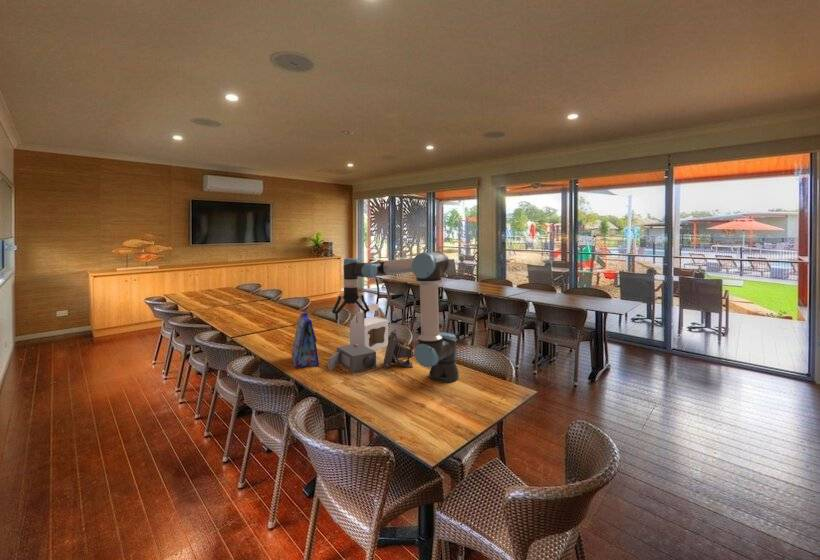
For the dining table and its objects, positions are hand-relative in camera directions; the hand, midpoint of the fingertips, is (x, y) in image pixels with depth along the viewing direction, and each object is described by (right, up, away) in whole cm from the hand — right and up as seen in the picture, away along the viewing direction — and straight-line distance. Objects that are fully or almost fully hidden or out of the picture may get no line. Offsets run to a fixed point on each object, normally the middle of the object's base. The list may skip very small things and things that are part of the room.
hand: (351, 324), depth 213 cm
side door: (-9, -22, -2) cm, 24 cm away
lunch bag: (-28, -22, +9) cm, 37 cm away
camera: (+26, -23, +4) cm, 35 cm away
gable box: (+6, -19, +37) cm, 42 cm away
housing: (+2, -23, +4) cm, 23 cm away
